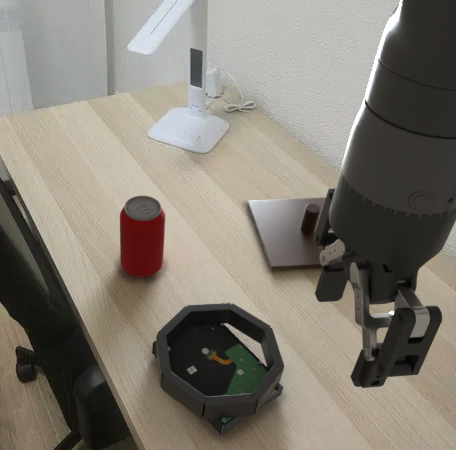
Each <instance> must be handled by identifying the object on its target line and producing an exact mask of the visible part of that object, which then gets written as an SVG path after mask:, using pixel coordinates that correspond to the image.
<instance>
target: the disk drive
mask: <svg viewBox="0 0 456 450" xmlns="http://www.w3.org/2000/svg"><path fill="white" fill-rule="evenodd" d="M151 348H152V349H151V353H152V355H153V356H154V357H155V359H156V360H157V353H156V340H154V341H153V342H152V347H151ZM168 353H169V361H170V368H171V372H173V373H174V374H175V375H177V376H178V377H180V378H181V379H182V380H184V381H185V382H187V383H188V384H189V385H191V386H192V387H194V388H195V389H196V390H198V391H199V392H201V393H202V394H203V395H205V396H206V397H210V396H225V395H239V394H251V393H252V392H253V391H254V390H255V388H256V387H257V386H258V385H259V383H260V382H261V381H262V380H263V378H264V377H265V376H266V375H267V373H268V368H267V365H266V364H264V362H262V361H261V359H259V357H257V355H256V354H255V353H254V352H252V350H251V349H250V348H249V347H248V346H247V345H246V344H245V343H244V342H243V341H242V340H240V338H239V337H237V335H236V334H235V333H234V332H232V330H231V329H230V328H229V327H228V326H227V325H226V324H208V325H191V326H188V327H187V328H186V329H185V330H184V331H183V332H182V333H181V334H180V335H179V336H178V337H177V338H176V339H175V340H174V341H173V342H172V343H171V344H170V345H169V346H168ZM283 389H284V386H283V385H282V384H281V382H279V384H278V385H277V386H276V388H275V389H274V390H273V392H272V393H271V394H270V396H269V397H268V398H267V399H266V401H265V402H264V403H263V405H262V406H261V407H260V409H259V410H258V411H257V413H258V412H260V411H261V410H262V409H263V408H265V407H267V406H268V405H269V404H270V403H272V402H273V401H275V400H276V399H277V398H278V397H279V398H280V397H281V395H282V393H283ZM251 417H252V416H243V417H229V418H215V419H206V420H207V421H208V423H209V424H210V425H211V426H212V427H213V428H214V430H216V432H217V433H218V434H219V435H220V436H222V437H223V436H225V435H226V434H227V433H229V432H230V431H232V430H234V429H235V428H236V427H239V426H240V425H241V424H242V423H244V422H245V421H246V420H248V419H249V418H251Z"/></svg>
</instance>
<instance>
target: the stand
mask: <svg viewBox="0 0 456 450" xmlns="http://www.w3.org/2000/svg"><path fill="white" fill-rule="evenodd" d="M325 199H326V197H305V198H278V199H276V198H275V199H252V200H247V202H246V203H247V204H246V205H247V207H248V210H249V212H250V216H251V219H252V221H253V224H254V227H255V230H256V232H257V235H258V238H259V241H260V243H261V246H262V249H263V252H264V254H265V257H266V260H267V263H268V266H269V269H270V271H278V270H280V271H281V270H297V269H300V270H301V269H317V268H319V269H320V268H322V265H321V262H320V253H321V252H322V251H323V248H322V246H317V245H316V244H315V240H314V237H315V232H316V229H317V226H318V222H319V219H320V216H321V212H322V209H323V206H324V202H325ZM329 231H333V230H332V228H330V229H329ZM329 231H328V232H329Z"/></svg>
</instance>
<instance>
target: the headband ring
mask: <svg viewBox="0 0 456 450" xmlns="http://www.w3.org/2000/svg"><path fill="white" fill-rule="evenodd" d="M208 324H224V325H229V326H230V327H233V329H236V330H237V331H239V333H240V332H241V334H243V335H245V336H247V337H248V338H249V339H252V340H253V341H255V342H256V343H258V344H259V345H260V348H261V351H262V355H263V357H264V361H265V366H266V367H267V368H268V373H267V375H266V376H265V377H264V378H263V380H262V381H261V382H260V383H259V385H258V386H257V387H256V388H255V390H254V391H253V392H252V393H251V394H239V395H225V396H210V397H206V396H205V395H203V394H202V393H201V392H199V391H198V390H196V389H195V388H194V387H192V386H191V385H189V384H188V383H187V382H185V381H184V380H182V379H181V378H180V377H178V376H177V375H175V374H174V373H173V372H171V368H170V361H169V353H168V346H169V345H170V344H171V343H172V342H173V341H174V340H175V339H176V338H177V337H178V336H179V335H180V334H181V333H182V332H183V331H184V330H185V329H186V328H187V327H188V326H191V325H208ZM155 341H156V353H157V359H156V360H157V369H158V378H159V386H160V389H161V390H162V391H163V392H164V393H165V394H167V395H168V396H170V398H172V399H174V400H175V401H176V402H178V403H179V404H180V405H182V406H183V407H184V408H186V409H187V410H189V412H191V413H192V414H194V415H195V416H196V417H198V418H199V419H203V420H207V419H215V418H229V417H243V416H251V417H253V415H256V414H257V413H258V412H259V411H260V410H259V409H260V407H261V406H262V405H263V403H264V402H265V401H266V399H267V398H268V397H269V396H270V394H271V393H272V392H273V390H274V389H275V388H276V386H277V385H278V384H279V383H281V379H282V376H283V373H284V370H285V364H284V360H283V357H282V354H281V351H280V347H279V345H278V341H277V338H276V336H275V332H274V329H273V327H271V325H270V324H268V323H267V322H265V321H263V320H262V319H260V318H258V317H257V316H255V315H254V314H251V313H250V312H248V311H247V310H245V309H243V308H241V307H240V306H238V305H237V304H235V303H231V302H220V303H219V302H218V303H201V304H199V303H198V304H187V305H184V306H183V308H182V309H181V310H179V311H178V312H177V313H176V314H175V315H174V316H173V317H172V318H171V319H170V320H169V321H168V322H167V323H166V324H165V325H164V326H163V327H161V328H160V329H159V330H158V331H157V333H156V339H155ZM258 410H259V411H258ZM257 411H258V412H257Z"/></svg>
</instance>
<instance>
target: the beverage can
mask: <svg viewBox="0 0 456 450" xmlns="http://www.w3.org/2000/svg"><path fill="white" fill-rule="evenodd" d="M165 231H166V213H165V211H164V209H163V207H162V205H161V202H159V200H158V199H156V198H155V197H152V196H149V195H136V196H133V197H129V198H128V200H127V201H125V203H124V206H123V207H122V209H121V210H120V213H119V251H120V253H119V254H120V265H121V268H122V269H123V270H124V272H126V273H128V275H130V276H133V277H137V278H145V277H151V276H153V275H155V274H157V273H158V272H159V271H160V270H161V269H162V268H163V263H164V250H165V236H166V235H165V234H166V232H165Z"/></svg>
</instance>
